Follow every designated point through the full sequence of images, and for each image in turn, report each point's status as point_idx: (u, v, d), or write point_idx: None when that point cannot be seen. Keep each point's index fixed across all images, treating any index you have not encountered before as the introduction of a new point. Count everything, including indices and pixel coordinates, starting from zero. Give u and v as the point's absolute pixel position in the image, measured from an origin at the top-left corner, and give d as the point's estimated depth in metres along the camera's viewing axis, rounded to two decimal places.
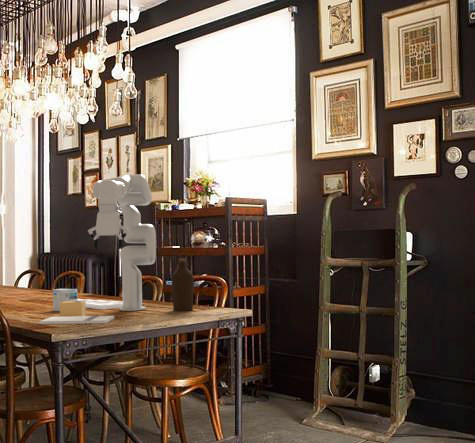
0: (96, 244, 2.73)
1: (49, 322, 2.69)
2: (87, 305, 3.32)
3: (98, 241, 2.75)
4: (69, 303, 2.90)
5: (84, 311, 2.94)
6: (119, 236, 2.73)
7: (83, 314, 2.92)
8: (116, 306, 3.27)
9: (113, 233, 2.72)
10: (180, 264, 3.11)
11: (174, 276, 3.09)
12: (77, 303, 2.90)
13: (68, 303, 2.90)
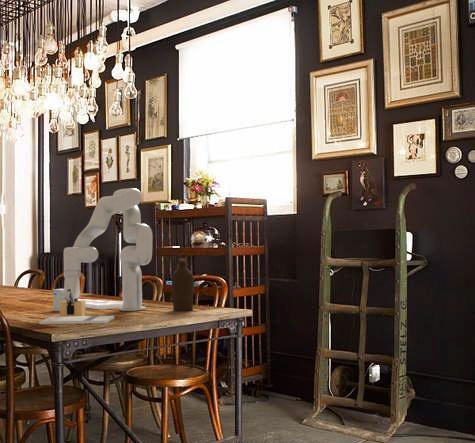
0: (73, 309, 2.89)
1: (49, 322, 2.69)
2: (85, 305, 3.32)
3: None
4: None
5: (84, 311, 2.94)
6: (77, 300, 2.97)
7: (83, 314, 2.92)
8: (114, 306, 3.27)
9: (78, 296, 2.95)
10: (180, 264, 3.11)
11: (174, 276, 3.09)
12: (77, 303, 2.90)
13: None
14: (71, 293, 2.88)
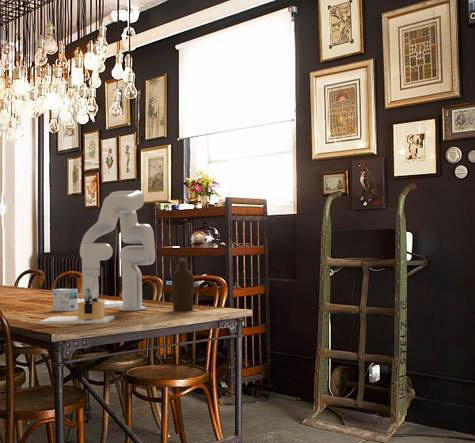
0: None
1: (49, 322, 2.69)
2: None
3: None
4: None
5: (103, 312, 2.78)
6: (97, 298, 2.81)
7: (102, 315, 2.76)
8: (110, 306, 3.28)
9: (97, 296, 2.79)
10: (180, 264, 3.11)
11: (174, 276, 3.09)
12: (96, 303, 2.73)
13: None
14: (90, 293, 2.71)
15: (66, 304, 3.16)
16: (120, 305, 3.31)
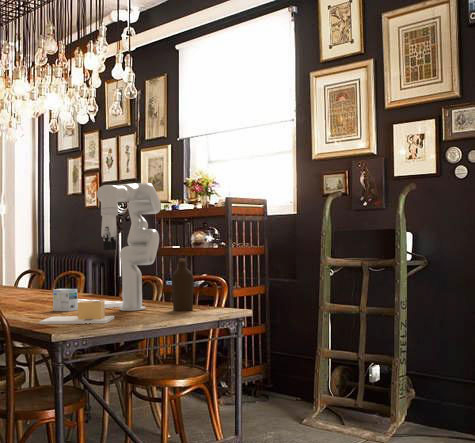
0: (110, 245, 2.86)
1: (49, 322, 2.69)
2: None
3: None
4: (88, 303, 2.74)
5: (103, 312, 2.78)
6: (115, 238, 2.96)
7: (102, 315, 2.76)
8: (108, 306, 3.28)
9: (115, 235, 2.93)
10: (180, 264, 3.11)
11: (174, 276, 3.09)
12: (96, 303, 2.73)
13: (86, 303, 2.74)
14: (109, 230, 2.86)
15: (66, 304, 3.16)
16: (119, 305, 3.32)
